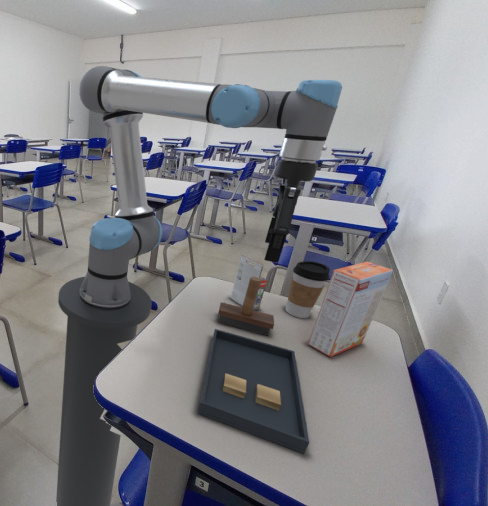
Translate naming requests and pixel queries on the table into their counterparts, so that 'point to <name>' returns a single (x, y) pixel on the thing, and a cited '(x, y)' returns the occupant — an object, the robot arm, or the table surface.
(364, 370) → the table surface
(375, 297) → the cracker box
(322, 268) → the coffee cup
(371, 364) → the table surface
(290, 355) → the tray
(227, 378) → the tan square block
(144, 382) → the table surface
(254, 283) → the brush
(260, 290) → the ink box
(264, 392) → the chip
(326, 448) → the table surface
